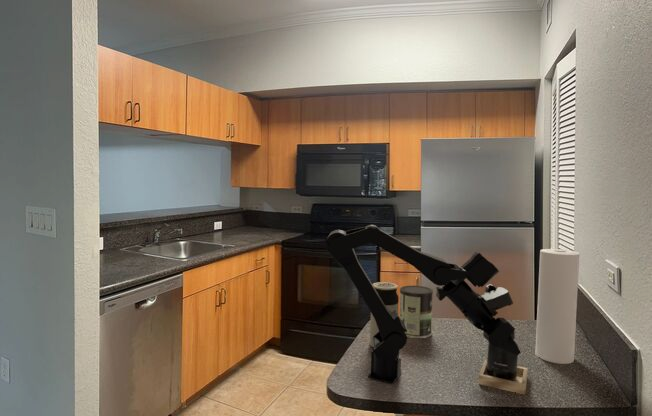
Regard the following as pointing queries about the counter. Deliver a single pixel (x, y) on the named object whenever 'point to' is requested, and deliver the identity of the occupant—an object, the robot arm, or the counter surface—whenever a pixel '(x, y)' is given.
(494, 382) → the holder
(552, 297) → the paper towel roll
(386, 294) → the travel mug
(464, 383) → the counter surface
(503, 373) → the supplement bottle
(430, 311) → the coffee can
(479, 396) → the counter surface
